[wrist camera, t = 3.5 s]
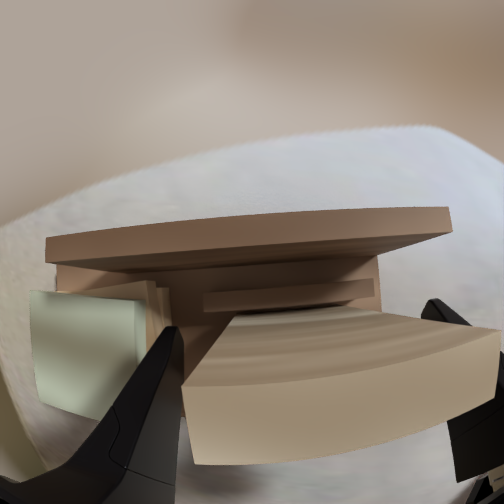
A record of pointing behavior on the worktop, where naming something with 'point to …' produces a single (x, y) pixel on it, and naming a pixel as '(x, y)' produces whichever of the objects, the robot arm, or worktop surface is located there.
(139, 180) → the worktop surface
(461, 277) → the worktop surface
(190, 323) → the offcut rack
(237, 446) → the birch board
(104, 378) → the offcut stack
